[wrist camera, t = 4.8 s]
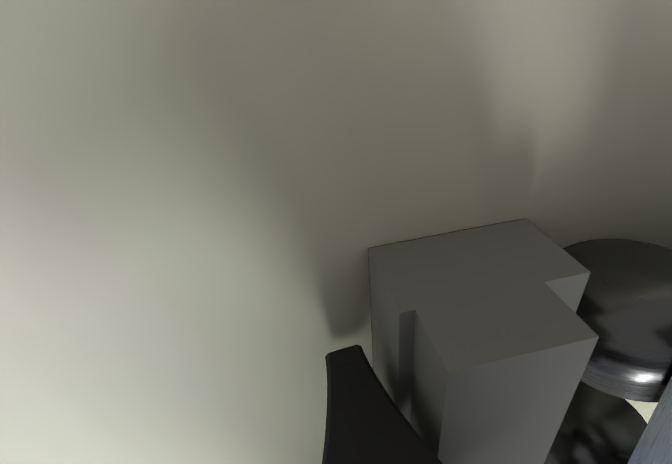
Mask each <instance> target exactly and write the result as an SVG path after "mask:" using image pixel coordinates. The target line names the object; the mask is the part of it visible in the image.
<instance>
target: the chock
mask: <svg viewBox="0 0 672 464" xmlns="http://www.w3.org/2000/svg"><path fill="white" fill-rule="evenodd" d="M368 252H369V276H370V300H371V324H372V348H373V371H374V372H375V374H376V376H377V377H378V379H379V381H380V382H381V384H382V385H383V387H384V388H385V390H386V391H387V393H388V394H389V396H390V397H391V399H392V400H393V401H394V403H395V404H396V406H397V407H398V408H399V410H400V411H401V412H402V414H403V415H404V417H405V418H406V419H407V421H408V422H409V423H410V424H411V426H412V427H413V428H414V430H415V431H416V432H417V433H418V435H419V436H420V437H421V438H422V440H423V441H424V442H425V443H426V444H427V446H428V447H429V448H430V449H431V451H432V452H433V453H434V454H435V455H436V456H437V458H438V459H439V460H440V461H441V462H442V463H443V464H544V462H545V460H546V457H547V455H548V453H549V450H550V448H551V446H552V443H553V441H554V439H555V437H556V434H557V432H558V430H559V427H560V425H561V423H562V421H563V418H564V416H565V414H566V411H567V409H568V407H569V405H570V402H571V400H572V398H573V395H574V393H575V391H576V389H577V386H578V384H579V382H580V379H581V377H582V375H583V372H584V370H585V368H586V366H587V363H588V361H589V359H590V356H591V354H592V352H593V350H594V347H595V345H596V343H597V340H598V338H599V336H598V335H597V334H596V333H595V332H594V331H593V330H592V329H591V328H590V327H589V326H588V325H587V324H586V323H585V322H584V321H583V320H582V319H581V318H580V317H579V316H578V315H577V314H576V311H577V308H578V305H579V302H580V300H581V297H582V294H583V292H584V289H585V286H586V283H587V281H588V278H589V275H590V273H591V272H590V271H589V270H587V269H586V268H585V267H584V266H583V265H581V264H580V263H579V262H578V261H577V260H575V259H574V258H573V257H572V256H571V255H569V254H568V253H567V252H566V251H565V250H563V249H562V248H561V247H560V246H559V245H557V244H556V243H555V242H554V241H553V240H551V239H550V238H549V237H548V236H547V235H545V234H544V233H543V232H542V231H541V230H539V229H538V228H537V227H536V226H535V225H533V224H532V223H531V222H530V221H529V220H527V219H520V220H515V221H510V222H505V223H499V224H494V225H489V226H484V227H478V228H473V229H468V230H463V231H457V232H452V233H447V234H441V235H436V236H431V237H426V238H420V239H415V240H410V241H405V242H399V243H394V244H389V245H384V246H378V247H373V248H368Z"/></svg>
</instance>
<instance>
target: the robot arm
mask: <svg viewBox="0 0 672 464" xmlns="http://www.w3.org/2000/svg"><path fill="white" fill-rule="evenodd" d="M325 359H326V367H327V417H326V432H325V444H324V452H323V461H322V464H443V463H442V462H441V461H440V460H439V459H438V458H437V456H436V455H435V454H434V453H433V452H432V451H431V449H430V448H429V447H428V446H427V444H426V443H425V442H424V441H423V440H422V438H421V437H420V436H419V435H418V433H417V432H416V431H415V430H414V428H413V427H412V426H411V424H410V423H409V422H408V421H407V419H406V418H405V417H404V415H403V414H402V412H401V411H400V410H399V408H398V407H397V406H396V404H395V403H394V401H393V400H392V399H391V397H390V396H389V394H388V393H387V391H386V390H385V388H384V387H383V385H382V384H381V382H380V381H379V379H378V377H377V376H376V374H375V372H374V371H373V369H372V367H371V366H370V364H369V362H368V360H367V358H366V356H365V354H364V352H363V349H362V347H361V346H359V345H354V346H350V347H347V348H344V349H340V350H337V351H334V352H330V353H328V354H327V355H326V357H325Z"/></svg>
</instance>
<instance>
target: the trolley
mask: <svg viewBox="0 0 672 464" xmlns="http://www.w3.org/2000/svg"><path fill="white" fill-rule="evenodd" d="M564 250H565V251H566V252H567V253H568V254H569V255H571V256H572V257H573V258H574V259H575V260H577V261H578V262H579V263H580V264H581V265H583V266H584V267H585V268H586V269H587V270H589V271H590V272H591V273H590V275H589V278H588V281H587V283H586V286H585V289H584V292H583V294H582V297H581V300H580V302H579V305H578V308H577V311H576V314H577V315H578V316H579V317H580V318H581V319H582V320H583V321H584V322H585V323H586V324H587V325H588V326H589V327H590V328H591V329H592V330H593V331H594V332H595V333H596V334H597V335H598V336H599V338H598V340H597V343H596V345H595V347H594V350H593V352H592V354H591V356H590V359H589V361H588V363H587V366H586V368H585V370H584V372H583V375H582V377H581V379H580V382H579V384H578V386H577V389H576V391H575V393H574V395H573V398H572V400H571V402H570V405H569V407H568V409H567V411H566V414H565V416H564V418H563V421H562V423H561V425H560V427H559V430H558V432H557V434H556V437H555V439H554V441H553V443H552V446H551V448H550V450H549V453H548V455H547V457H546V460H545V462H544V464H672V250H671V249H668V248H664V247H661V246H658V245H654V244H650V243H645V242H639V241H632V240H622V239H600V240H591V241H586V242H582V243H578V244H575V245H572V246H570V247H568V248H566V249H564ZM623 398H624V399H623ZM625 399H629V400H634V401H642V402H658V404H657V406H656V408H655V410H654V412H653V414H652V416H651V418H650V420H649V422H648V424H647V423H646V422H645V420H644V419H643V417H642V416H641V415H640V414H639V413H638V411H637V410H636V409H635V408H634V407H633V406H632V405H631V404H630V403H628V402H627V401H626V400H625Z"/></svg>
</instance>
